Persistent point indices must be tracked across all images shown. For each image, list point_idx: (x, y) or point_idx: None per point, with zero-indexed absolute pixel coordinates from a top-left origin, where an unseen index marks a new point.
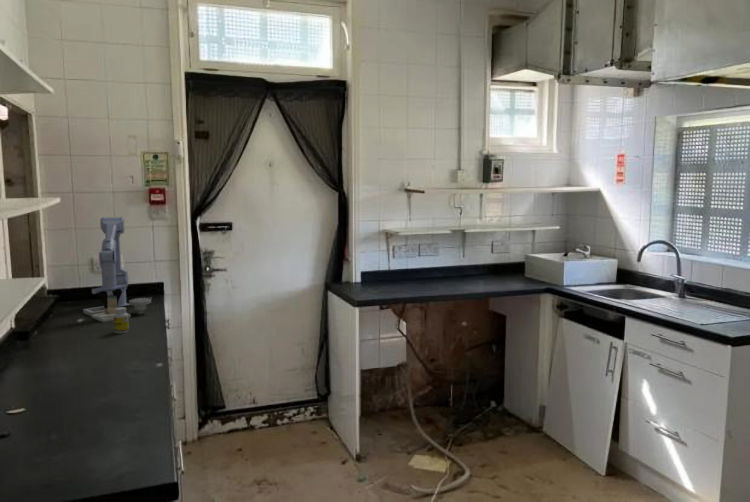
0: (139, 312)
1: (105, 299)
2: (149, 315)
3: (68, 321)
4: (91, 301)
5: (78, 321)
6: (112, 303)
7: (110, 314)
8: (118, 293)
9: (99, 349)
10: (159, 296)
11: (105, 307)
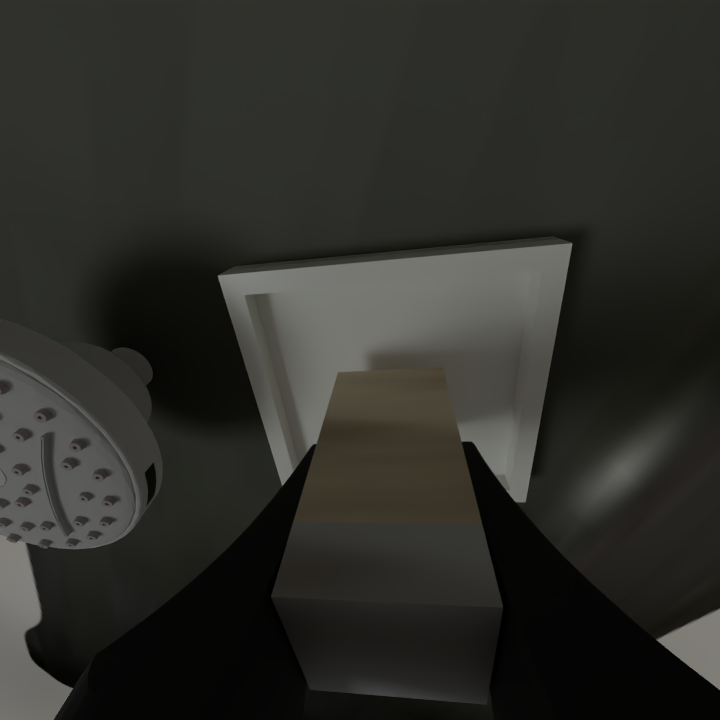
0: (131, 361)
1: (533, 563)
2: (41, 228)
3: (707, 495)
4: (344, 715)
5: (662, 448)
6: (385, 465)
7: (419, 370)
8: (194, 656)
9: None
10: (41, 636)
11: (478, 454)
